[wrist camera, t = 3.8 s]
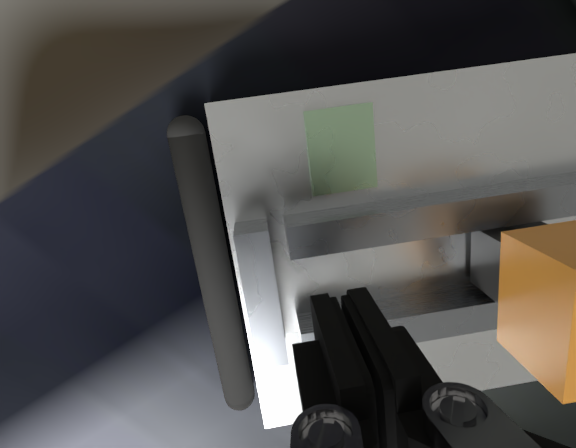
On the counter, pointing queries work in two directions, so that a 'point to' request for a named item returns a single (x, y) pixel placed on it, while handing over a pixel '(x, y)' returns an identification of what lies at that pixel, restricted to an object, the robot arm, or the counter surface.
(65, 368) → the counter surface
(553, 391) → the orange block
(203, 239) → the grey bar
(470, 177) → the slider switch board
